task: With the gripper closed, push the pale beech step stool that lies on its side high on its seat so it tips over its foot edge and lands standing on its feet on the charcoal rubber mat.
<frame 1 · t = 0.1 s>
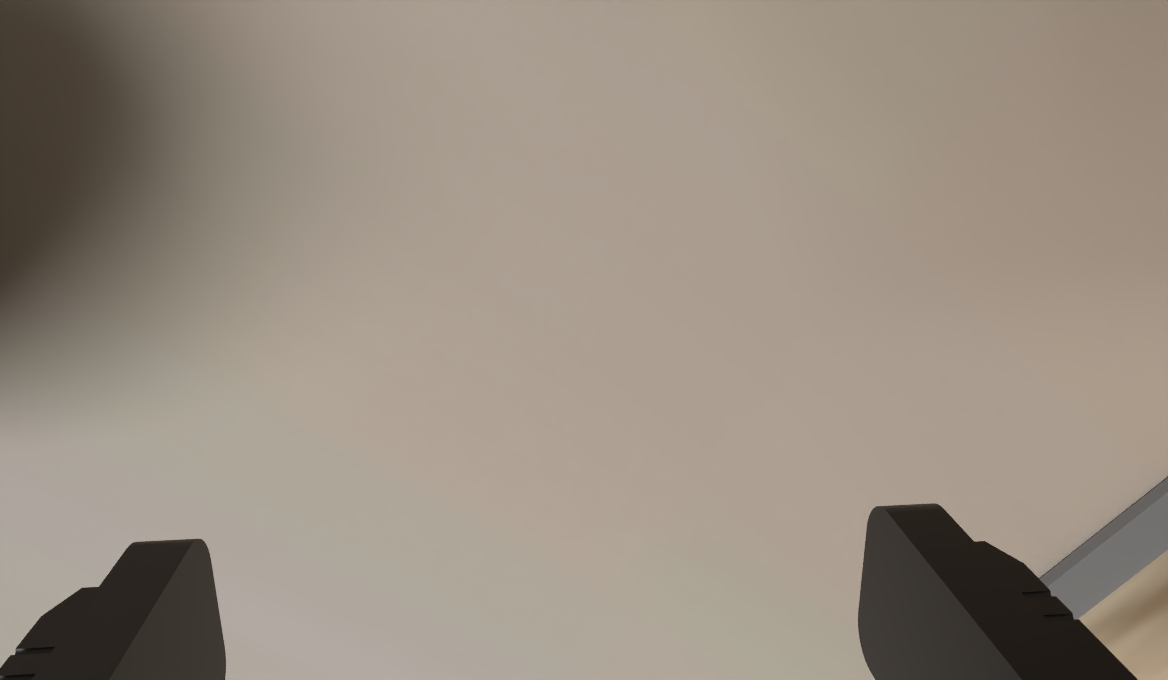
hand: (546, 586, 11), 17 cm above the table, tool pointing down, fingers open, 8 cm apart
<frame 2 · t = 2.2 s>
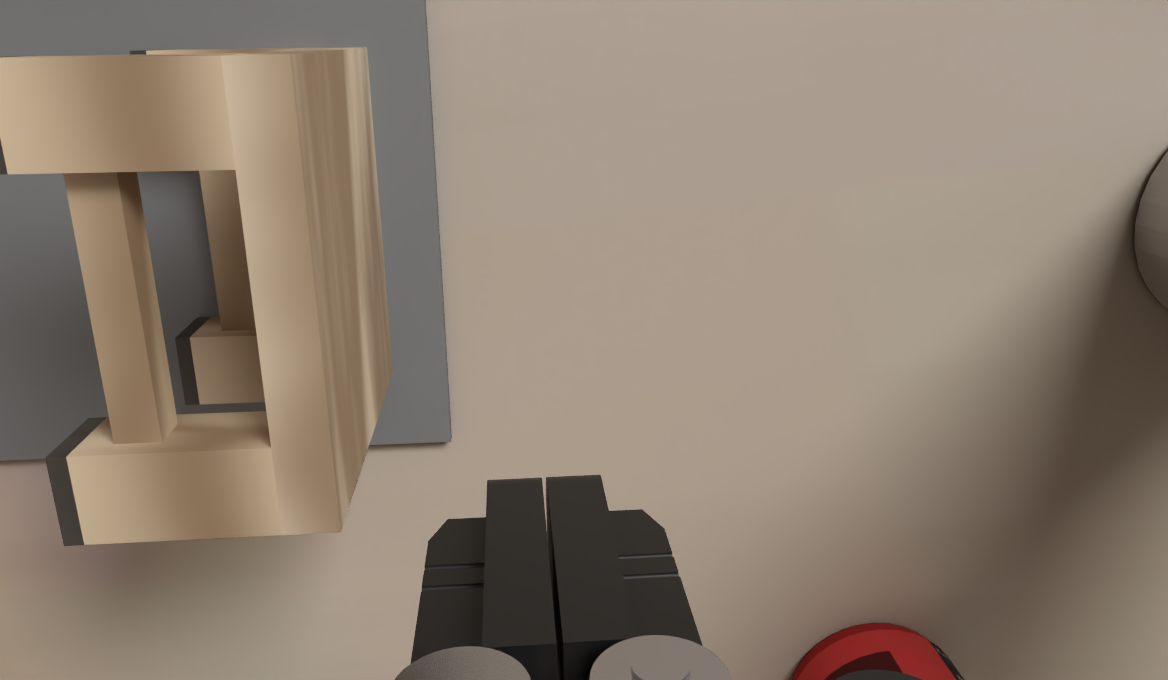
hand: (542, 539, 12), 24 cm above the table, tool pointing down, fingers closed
stool: (282, 221, 33), resting on mat
mat: (119, 223, 33), on the table
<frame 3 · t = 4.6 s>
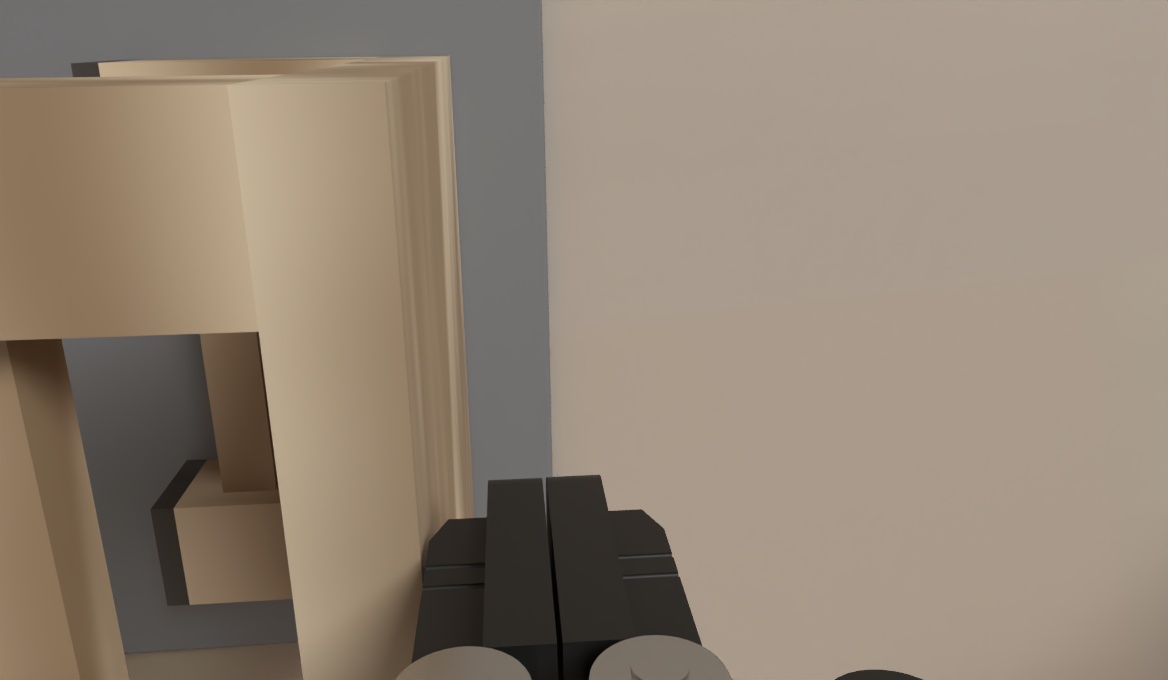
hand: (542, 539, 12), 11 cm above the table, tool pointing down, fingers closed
stool: (316, 320, 22), point 1 cm above the table, touching gripper, mat
mat: (66, 323, 22), on the table
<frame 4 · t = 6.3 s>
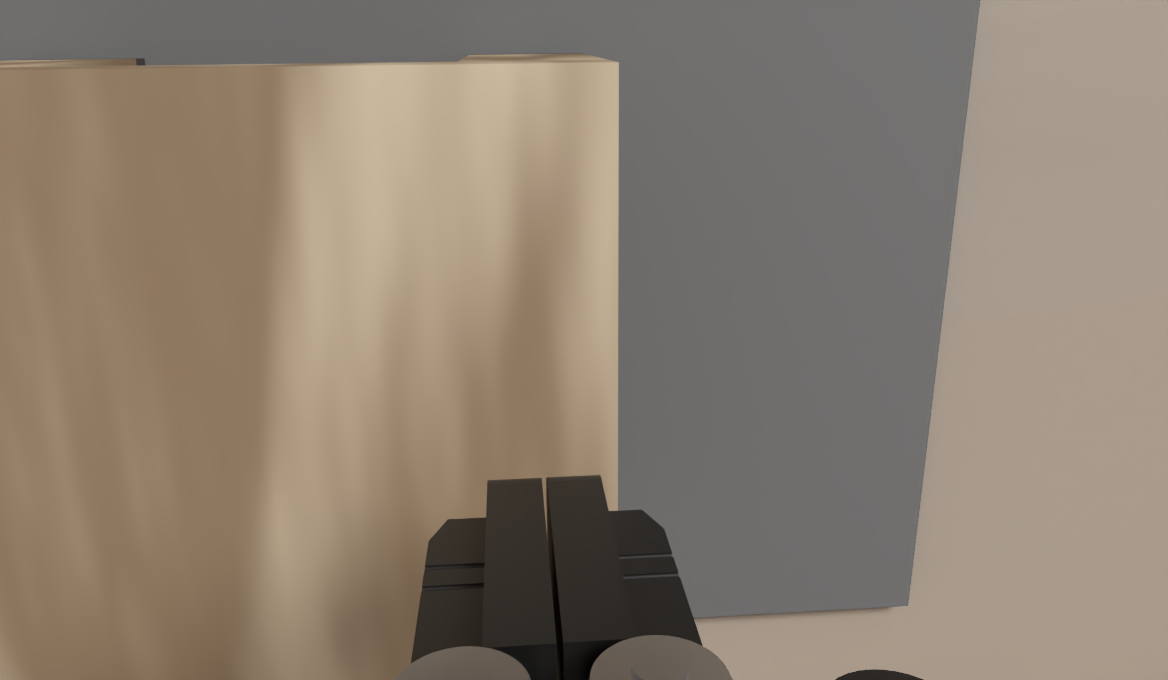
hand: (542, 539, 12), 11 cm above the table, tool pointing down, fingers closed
stool: (598, 358, 19), point 4 cm above the table, tilted 90°, touching mat
mat: (485, 307, 23), on the table
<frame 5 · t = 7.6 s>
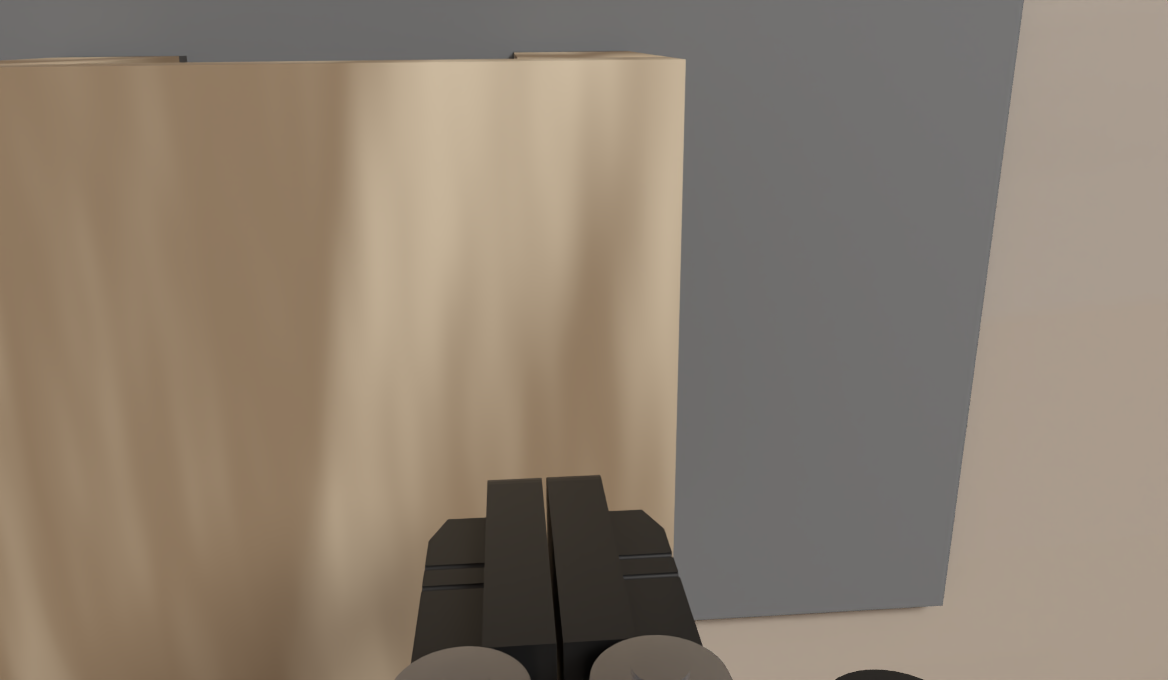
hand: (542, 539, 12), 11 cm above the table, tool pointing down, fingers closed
stool: (646, 357, 19), point 4 cm above the table, tilted 90°, touching mat
mat: (523, 307, 23), on the table
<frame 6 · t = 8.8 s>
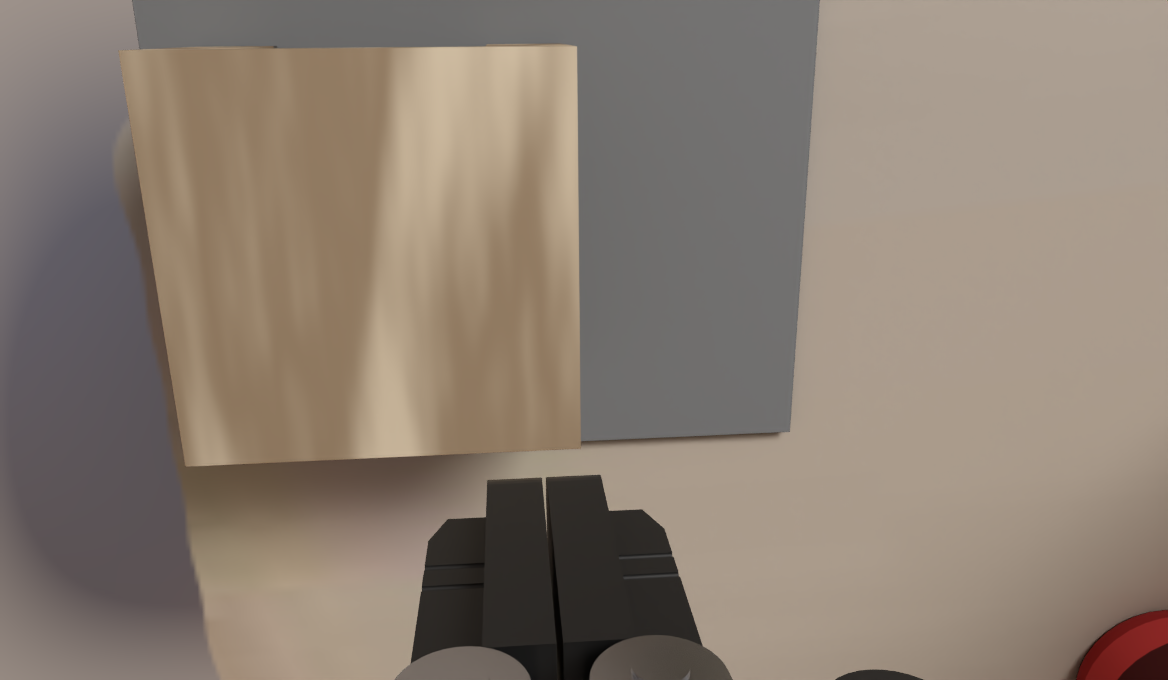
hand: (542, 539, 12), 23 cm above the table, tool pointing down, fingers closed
canned food: (1146, 670, 44), on the table
stool: (569, 236, 30), point 4 cm above the table, tilted 90°, touching mat
mat: (495, 215, 34), on the table
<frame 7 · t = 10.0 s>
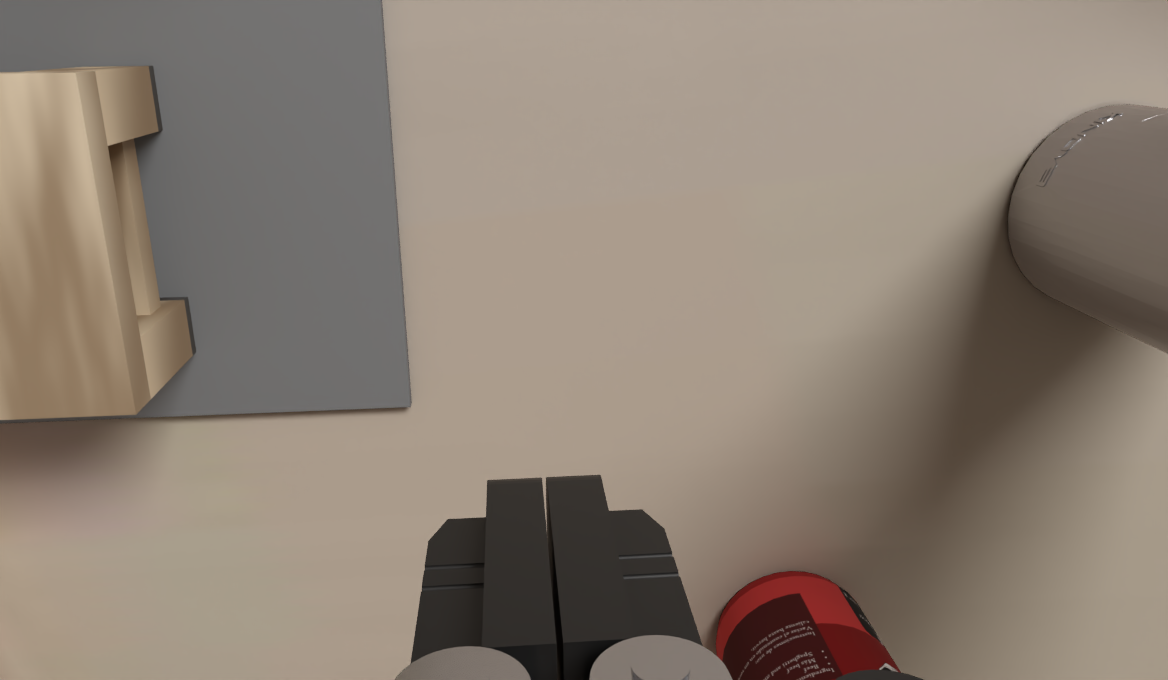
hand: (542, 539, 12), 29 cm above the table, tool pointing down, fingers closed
canned food: (785, 627, 48), on the table
stool: (144, 233, 35), point 4 cm above the table, tilted 90°, touching mat
mat: (119, 215, 39), on the table
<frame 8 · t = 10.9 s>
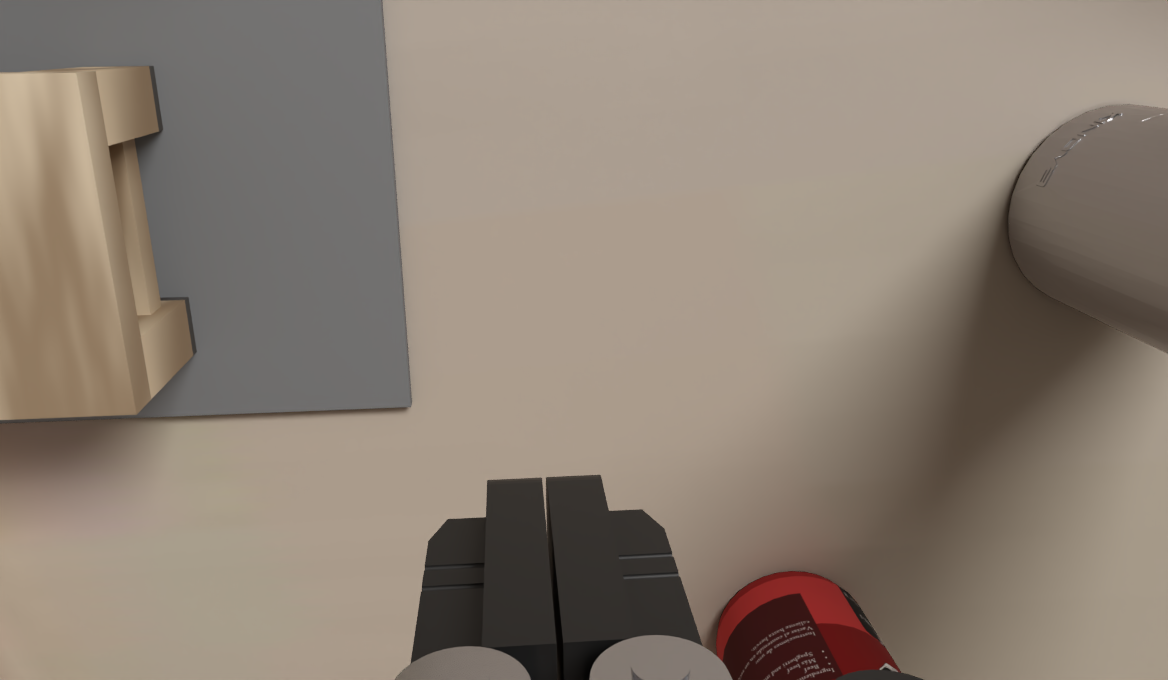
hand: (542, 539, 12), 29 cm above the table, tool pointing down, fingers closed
canned food: (785, 627, 48), on the table
stool: (145, 233, 35), point 4 cm above the table, tilted 90°, touching mat
mat: (120, 215, 39), on the table
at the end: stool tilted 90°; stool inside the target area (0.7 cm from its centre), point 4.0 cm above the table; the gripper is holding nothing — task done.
